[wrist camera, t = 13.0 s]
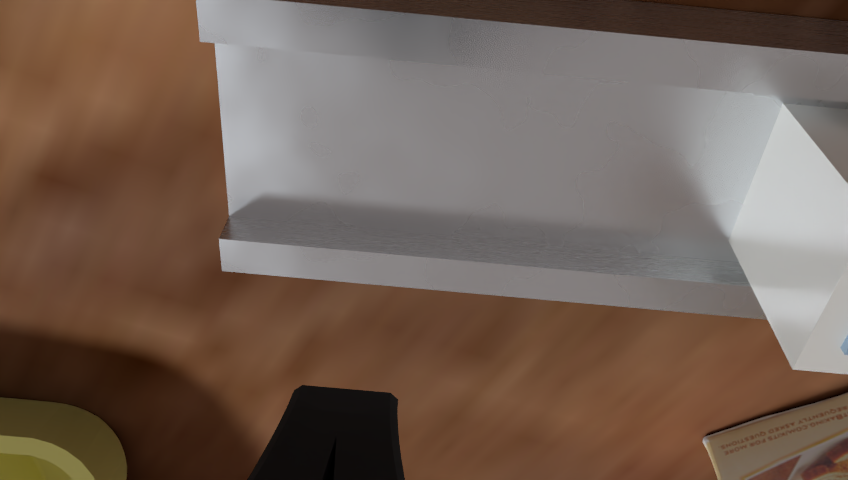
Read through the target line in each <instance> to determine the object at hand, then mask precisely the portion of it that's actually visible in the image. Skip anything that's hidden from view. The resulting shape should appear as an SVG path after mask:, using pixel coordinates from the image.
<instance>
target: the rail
mask: <svg viewBox="0 0 848 480" xmlns="http://www.w3.org/2000/svg"><path fill="white" fill-rule="evenodd" d="M196 5H197V15H198V26H199V36H200V42H209V43H215V53H216V65H217V77H218V89H219V100H220V112H221V124H222V136H223V148H224V160H225V172H226V184H227V195H228V207H229V218H228V220H227V222H226V224H225V227H224V229H223V231H222V233H221V235H220V238H219V245H220V255H221V265H222V271H228V272H240V273H251V274H262V275H273V276H285V277H296V278H307V279H318V280H329V281H341V282H352V283H363V284H374V285H385V286H397V287H408V288H419V289H430V290H441V291H453V292H464V293H475V294H486V295H498V296H509V297H520V298H531V299H542V300H554V301H565V302H576V303H587V304H598V305H610V306H621V307H632V308H643V309H654V310H666V311H677V312H688V313H699V314H711V315H722V316H733V317H744V318H755V319H767V317H766V315H765V313H764V311H763V309H762V307H761V305H760V303H759V301H758V299H757V297H756V295H755V293H754V291H753V289H752V287H751V285H750V283H749V281H748V279H747V277H746V275H745V273H744V271H743V269H742V267H741V265H740V263H739V261H738V259H737V257H736V255H735V253H734V251H733V249H732V247H731V245H730V243H729V238H730V236H731V233H732V230H733V228H734V225H735V223H736V220H737V218H738V215H739V213H740V210H741V208H742V205H743V203H744V200H745V198H746V195H747V193H748V190H749V188H750V185H751V183H752V180H753V177H754V175H755V172H756V170H757V167H758V165H759V162H760V160H761V157H762V155H763V152H764V150H765V147H766V145H767V142H768V140H769V137H770V135H771V132H772V129H773V127H774V124H775V122H776V119H777V117H778V114H779V112H780V109H781V107H782V104H783V103H786V104H796V105H807V106H818V107H828V108H839V109H848V21H840V20H829V19H819V18H808V17H798V16H787V15H777V14H767V13H756V12H746V11H735V10H725V9H714V8H704V7H693V6H683V5H672V4H662V3H652V2H641V1H631V0H196ZM767 320H768V319H767Z"/></svg>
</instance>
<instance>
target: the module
mask: <svg viewBox="0 0 848 480" xmlns="http://www.w3.org/2000/svg"><path fill="white" fill-rule="evenodd" d="M729 243H730V245H731V247H732V249H733V251H734V253H735V255H736V257H737V259H738V261H739V263H740V265H741V267H742V269H743V271H744V273H745V275H746V277H747V279H748V281H749V283H750V285H751V287H752V289H753V291H754V293H755V295H756V297H757V299H758V301H759V303H760V305H761V307H762V309H763V311H764V313H765V315H766V317H767V319H768V321H769V323H770V325H771V327H772V329H773V331H774V333H775V335H776V337H777V339H778V341H779V343H780V345H781V347H782V349H783V351H784V353H785V355H786V357H787V359H788V361H789V363H790V365H791V367H792V369H793V370H804V371H816V372H827V373H838V374H848V109H839V108H828V107H818V106H807V105H796V104H786V103H783V104H782V107H781V109H780V112H779V114H778V117H777V119H776V122H775V124H774V127H773V129H772V132H771V135H770V137H769V140H768V142H767V145H766V147H765V150H764V152H763V155H762V157H761V160H760V162H759V165H758V167H757V170H756V172H755V175H754V177H753V180H752V183H751V185H750V188H749V190H748V193H747V195H746V198H745V200H744V203H743V205H742V208H741V210H740V213H739V215H738V218H737V220H736V223H735V225H734V228H733V230H732V233H731V236H730V238H729Z"/></svg>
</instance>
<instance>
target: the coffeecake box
mask: <svg viewBox="0 0 848 480" xmlns="http://www.w3.org/2000/svg"><path fill="white" fill-rule="evenodd" d="M703 444H704V445H705V447H706V449H707V451H708V453H709V456H710V458H711V461H712V463H713V466H714V469H715V472H716V475H717V478H718V480H848V393H845V394H842V395H839V396H836V397H832V398H829V399H825V400H822V401H819V402H816V403H813V404H809V405H805V406H801V407H798V408H794V409H791V410H787V411H784V412H781V413H777V414H773V415H769V416H765V417H762V418H759V419H756V420H752V421H750V422H747V423H744V424H741V425H738V426H736V427H733V428H729V429H726V430H723V431H720V432H717V433H714V434H711V435H708V436H705V437H704V438H703Z"/></svg>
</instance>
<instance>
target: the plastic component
mask: <svg viewBox="0 0 848 480" xmlns="http://www.w3.org/2000/svg"><path fill="white" fill-rule="evenodd" d="M126 479H127V463H126V457H125V454H124V451H123V448H122V445H121V443H120V441H119V439H118V437H117V436H116V434H115V433H114V432H113V430H112V429H111V428H110V427H109V426H108V425H107V424H106V423H105V422H104V421H103V420H102V419H100V418H99V417H98V416H96V415H94V414H92V413H90V412H88V411H86V410H83V409H81V408H78V407H75V406H72V405H68V404H63V403H56V402H47V401H37V400H26V399H15V398H4V397H0V480H126Z"/></svg>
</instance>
